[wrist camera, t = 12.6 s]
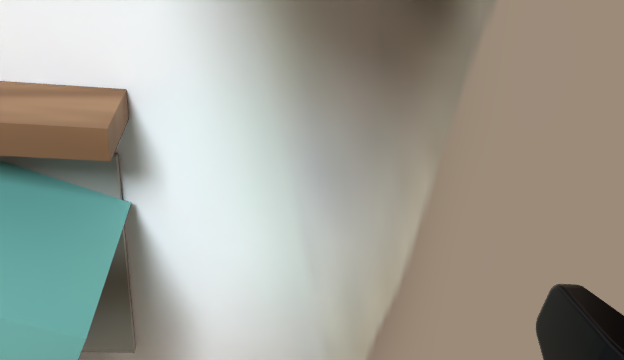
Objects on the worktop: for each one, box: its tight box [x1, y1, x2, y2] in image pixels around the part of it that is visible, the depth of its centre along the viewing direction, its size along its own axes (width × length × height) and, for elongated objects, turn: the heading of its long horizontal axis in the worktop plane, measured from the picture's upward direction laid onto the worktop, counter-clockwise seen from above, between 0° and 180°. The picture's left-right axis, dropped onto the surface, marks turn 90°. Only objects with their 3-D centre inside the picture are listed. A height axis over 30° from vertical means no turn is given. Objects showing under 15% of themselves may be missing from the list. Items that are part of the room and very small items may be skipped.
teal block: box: [0, 161, 131, 360], centre depth 21 cm, size 5×9×7 cm, turn 154°
